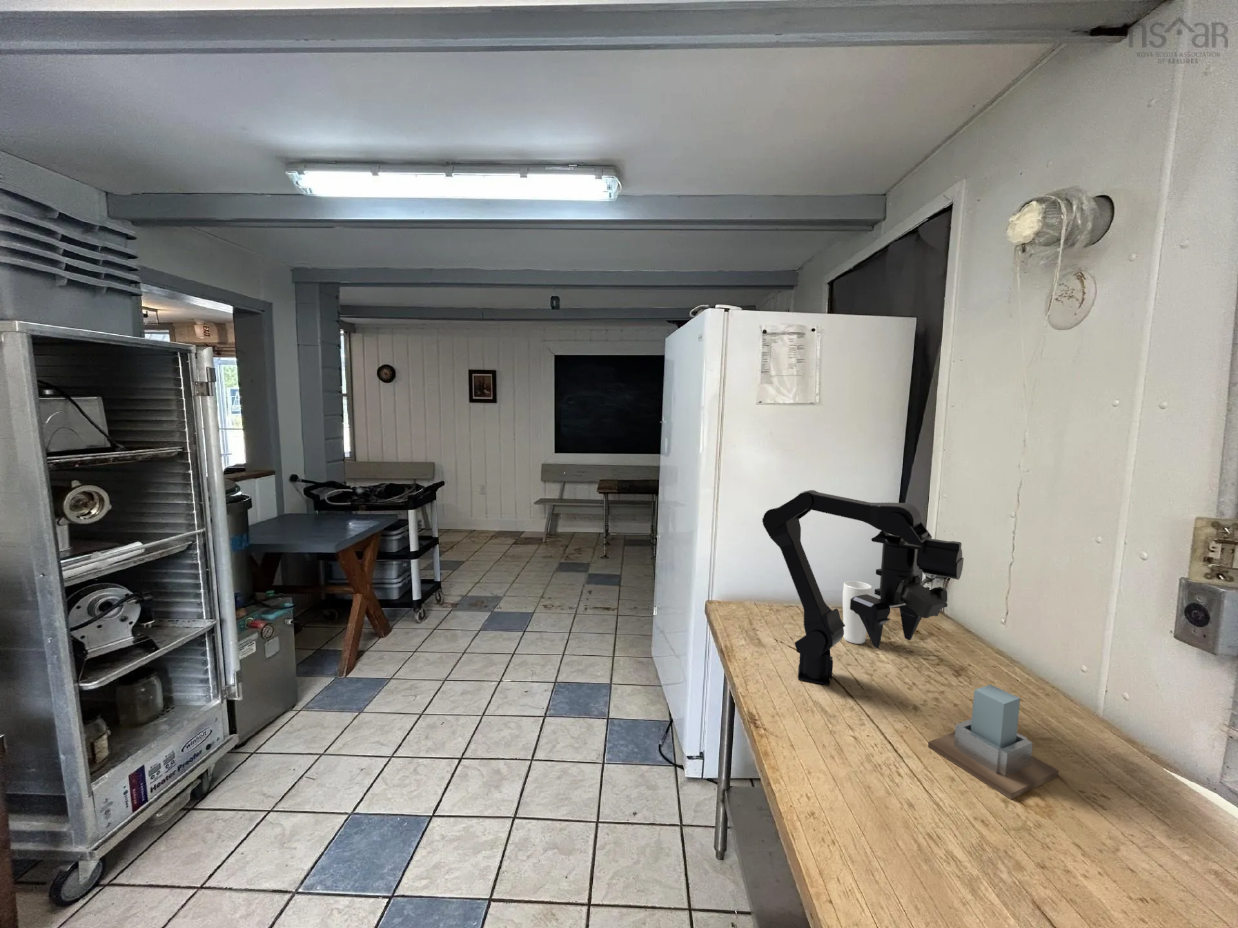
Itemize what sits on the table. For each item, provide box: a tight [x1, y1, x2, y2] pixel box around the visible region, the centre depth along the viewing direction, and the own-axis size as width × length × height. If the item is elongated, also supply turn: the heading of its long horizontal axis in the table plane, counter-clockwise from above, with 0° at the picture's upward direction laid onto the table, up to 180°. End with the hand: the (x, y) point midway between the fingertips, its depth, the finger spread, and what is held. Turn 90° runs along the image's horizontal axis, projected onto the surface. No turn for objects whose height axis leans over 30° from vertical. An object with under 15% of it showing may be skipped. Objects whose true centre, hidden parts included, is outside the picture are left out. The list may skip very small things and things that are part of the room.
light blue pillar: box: [971, 683, 1021, 749], centre depth 83 cm, size 4×4×11 cm
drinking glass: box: [842, 580, 873, 645], centre depth 128 cm, size 7×7×15 cm
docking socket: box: [927, 718, 1060, 800], centre depth 83 cm, size 13×13×5 cm
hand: (892, 643), depth 98 cm, fingers open, 9 cm apart
